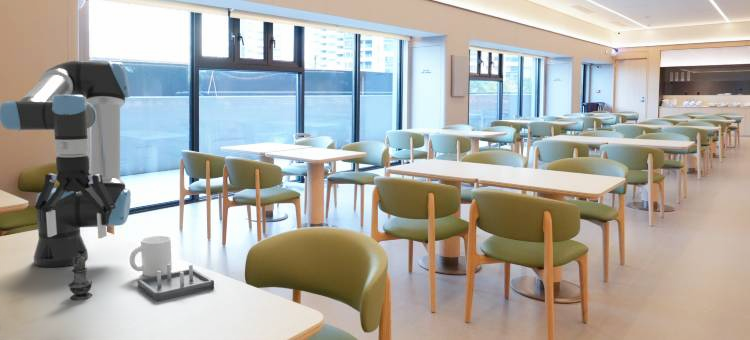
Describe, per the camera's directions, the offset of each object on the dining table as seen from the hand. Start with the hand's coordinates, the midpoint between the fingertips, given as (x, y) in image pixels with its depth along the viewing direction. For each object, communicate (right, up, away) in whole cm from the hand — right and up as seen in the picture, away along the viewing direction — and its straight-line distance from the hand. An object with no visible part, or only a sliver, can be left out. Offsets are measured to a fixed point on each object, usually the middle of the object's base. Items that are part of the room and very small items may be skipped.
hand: (77, 236), depth 153 cm
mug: (+11, -14, +21) cm, 28 cm away
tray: (+22, -15, +10) cm, 29 cm away
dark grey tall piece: (0, -16, +3) cm, 17 cm away
